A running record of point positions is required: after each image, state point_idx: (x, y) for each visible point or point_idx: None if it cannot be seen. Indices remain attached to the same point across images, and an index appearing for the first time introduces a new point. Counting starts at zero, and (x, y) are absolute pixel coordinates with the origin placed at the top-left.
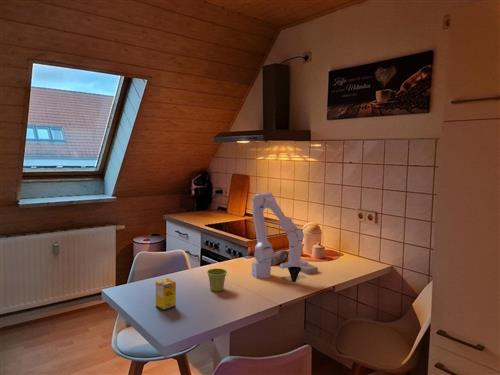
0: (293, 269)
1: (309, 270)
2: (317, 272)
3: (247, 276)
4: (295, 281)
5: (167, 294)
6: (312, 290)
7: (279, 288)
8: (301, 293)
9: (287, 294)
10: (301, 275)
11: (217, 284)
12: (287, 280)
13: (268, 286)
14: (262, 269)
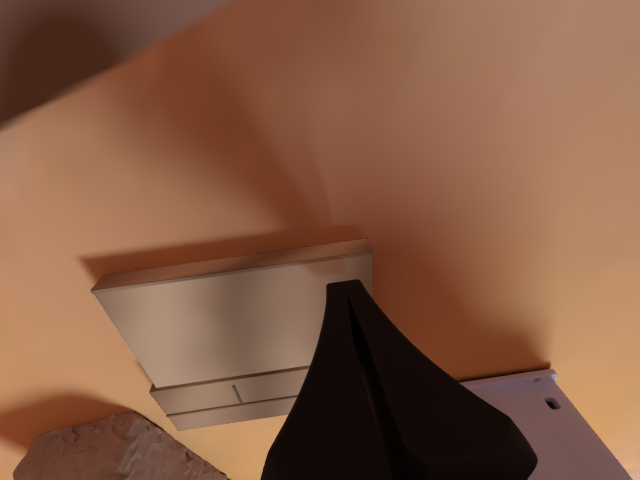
0: (493, 465)
1: (91, 474)
2: (25, 456)
3: None
4: (334, 285)
5: None
6: (142, 96)
7: (505, 227)
8: (351, 8)
9: (560, 21)
10: (189, 418)
11: None
12: None
13: (557, 280)
14: (565, 470)
